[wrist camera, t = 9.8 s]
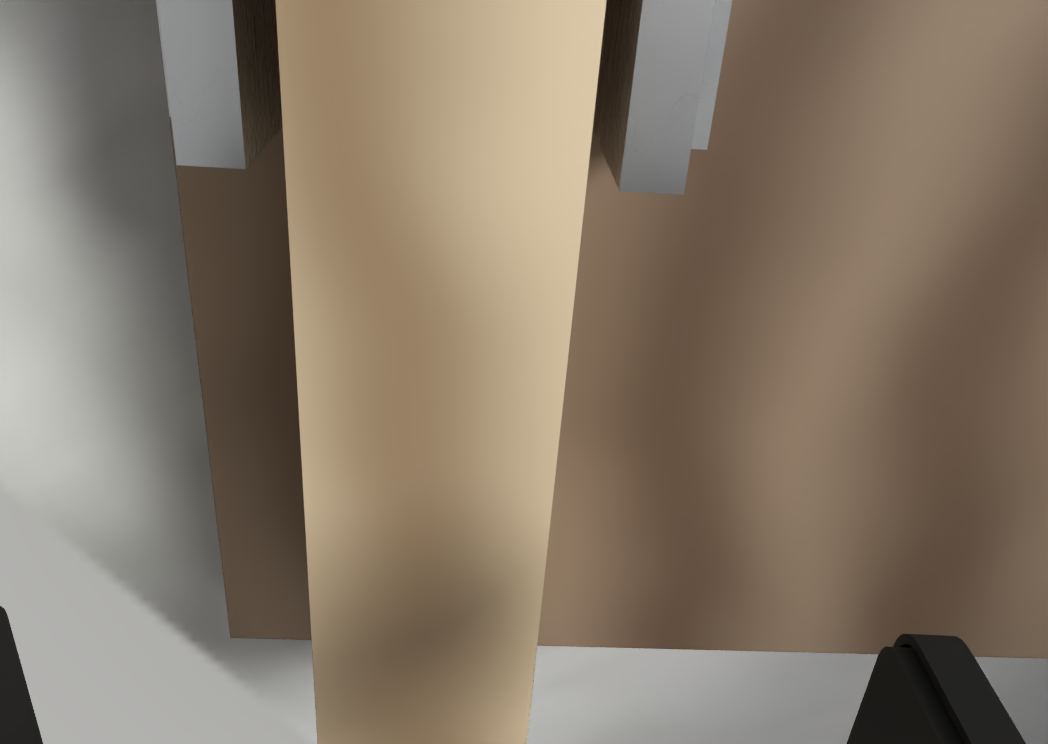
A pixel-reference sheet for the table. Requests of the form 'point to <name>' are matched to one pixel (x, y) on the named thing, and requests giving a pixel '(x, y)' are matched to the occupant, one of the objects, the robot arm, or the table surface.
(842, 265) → the board
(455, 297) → the rail
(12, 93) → the table surface
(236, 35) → the bracket
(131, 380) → the table surface
